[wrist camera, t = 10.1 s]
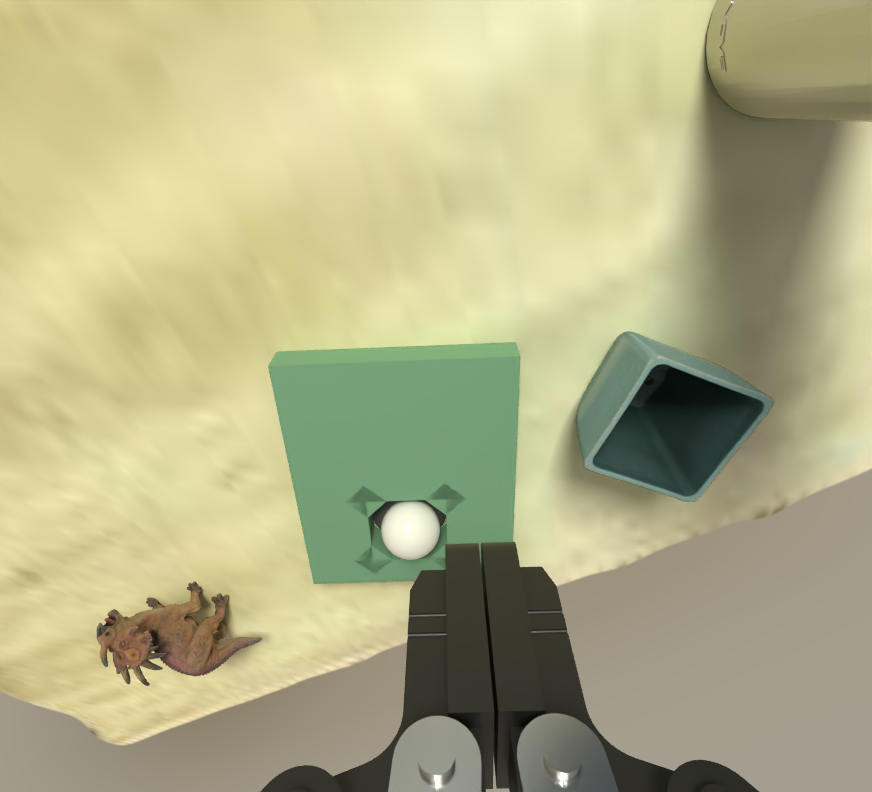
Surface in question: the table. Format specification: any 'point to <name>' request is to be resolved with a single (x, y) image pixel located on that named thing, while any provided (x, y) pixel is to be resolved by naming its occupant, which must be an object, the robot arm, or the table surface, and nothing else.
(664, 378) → the flower pot
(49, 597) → the table surface
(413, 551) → the ball
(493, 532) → the putting mat
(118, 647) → the dinosaur figurine
